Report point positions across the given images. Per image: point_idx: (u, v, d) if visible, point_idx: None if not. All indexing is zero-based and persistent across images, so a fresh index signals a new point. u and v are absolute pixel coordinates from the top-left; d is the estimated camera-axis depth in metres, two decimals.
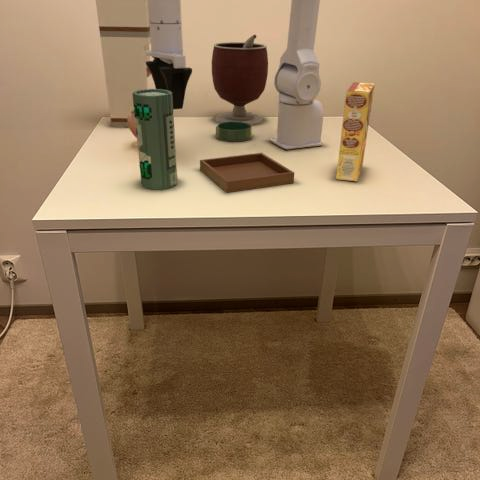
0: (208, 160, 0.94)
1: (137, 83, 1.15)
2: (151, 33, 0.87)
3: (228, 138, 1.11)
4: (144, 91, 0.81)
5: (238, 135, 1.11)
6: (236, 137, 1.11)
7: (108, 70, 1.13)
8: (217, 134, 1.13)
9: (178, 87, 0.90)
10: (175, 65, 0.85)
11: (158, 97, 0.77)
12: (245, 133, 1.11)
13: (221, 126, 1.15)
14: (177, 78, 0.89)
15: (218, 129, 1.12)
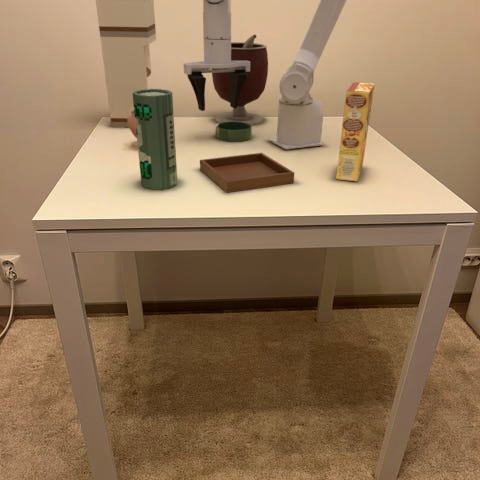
0: (208, 160, 0.94)
1: (137, 83, 1.15)
2: None
3: (228, 138, 1.11)
4: (144, 91, 0.81)
5: (238, 135, 1.11)
6: (236, 137, 1.11)
7: (108, 70, 1.13)
8: (217, 134, 1.13)
9: None
10: (184, 70, 1.03)
11: (158, 97, 0.77)
12: (245, 133, 1.11)
13: (221, 126, 1.15)
14: None
15: (218, 129, 1.12)
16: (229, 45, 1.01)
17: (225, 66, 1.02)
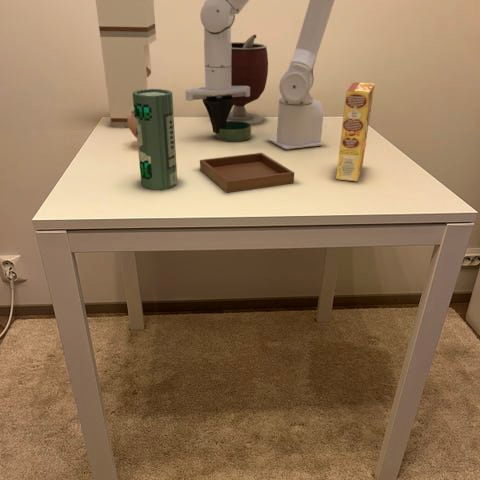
0: (208, 160, 0.94)
1: (137, 83, 1.15)
2: None
3: (228, 138, 1.11)
4: (144, 91, 0.81)
5: (238, 135, 1.10)
6: (236, 137, 1.11)
7: (108, 70, 1.13)
8: (217, 134, 1.13)
9: None
10: None
11: (158, 97, 0.77)
12: (244, 132, 1.11)
13: None
14: None
15: None
16: (229, 72, 1.04)
17: (225, 92, 1.05)
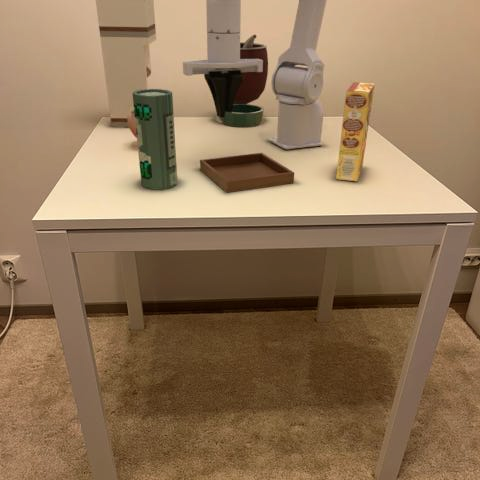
0: (208, 160, 0.94)
1: (137, 83, 1.15)
2: None
3: (235, 123, 0.90)
4: (144, 91, 0.81)
5: (247, 119, 0.90)
6: (245, 122, 0.90)
7: (108, 70, 1.13)
8: (221, 118, 0.92)
9: None
10: (183, 71, 0.86)
11: (158, 97, 0.77)
12: (255, 117, 0.90)
13: None
14: None
15: None
16: (238, 40, 0.84)
17: (233, 65, 0.85)
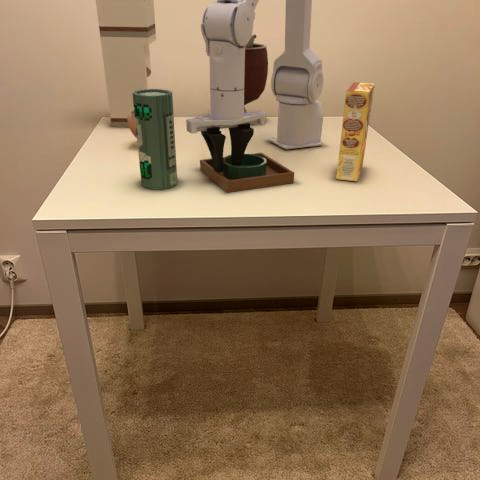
0: (208, 160, 0.94)
1: (137, 83, 1.15)
2: None
3: (239, 177, 0.88)
4: (144, 91, 0.81)
5: (252, 173, 0.88)
6: (250, 175, 0.88)
7: (108, 70, 1.13)
8: (224, 171, 0.90)
9: None
10: (187, 128, 0.83)
11: (158, 97, 0.77)
12: (260, 170, 0.89)
13: (228, 160, 0.92)
14: None
15: (226, 165, 0.89)
16: (242, 96, 0.82)
17: (238, 122, 0.83)
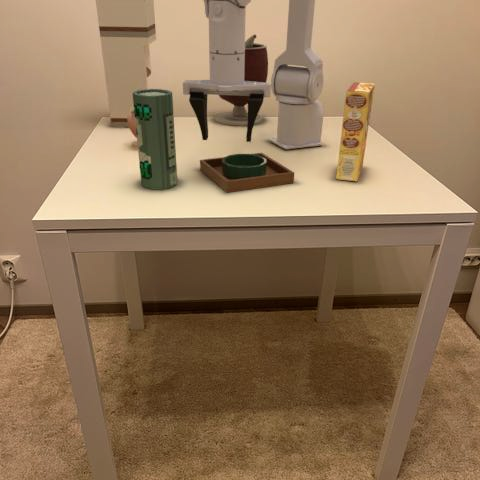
0: (208, 160, 0.94)
1: (137, 83, 1.15)
2: (227, 65, 0.78)
3: (239, 177, 0.88)
4: (144, 91, 0.81)
5: (252, 173, 0.88)
6: (250, 175, 0.88)
7: (108, 70, 1.13)
8: (224, 171, 0.90)
9: None
10: (269, 94, 0.81)
11: (158, 97, 0.77)
12: (260, 170, 0.89)
13: (227, 160, 0.92)
14: None
15: (226, 165, 0.89)
16: None
17: None
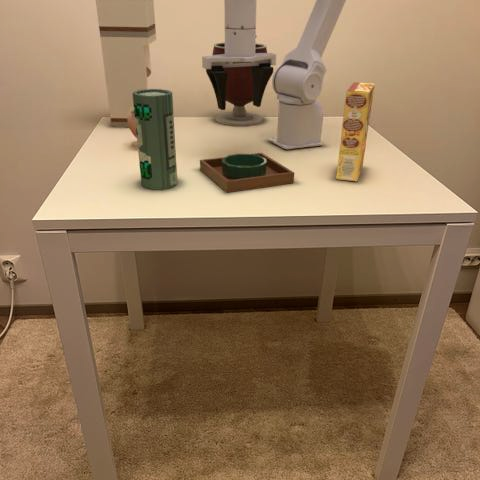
0: (208, 160, 0.94)
1: (137, 83, 1.15)
2: (248, 39, 0.89)
3: (239, 177, 0.88)
4: (144, 91, 0.81)
5: (252, 173, 0.88)
6: (250, 175, 0.88)
7: (108, 70, 1.13)
8: (224, 171, 0.90)
9: None
10: (275, 62, 0.95)
11: (158, 97, 0.77)
12: (260, 170, 0.89)
13: (227, 160, 0.92)
14: None
15: (226, 165, 0.89)
16: None
17: None
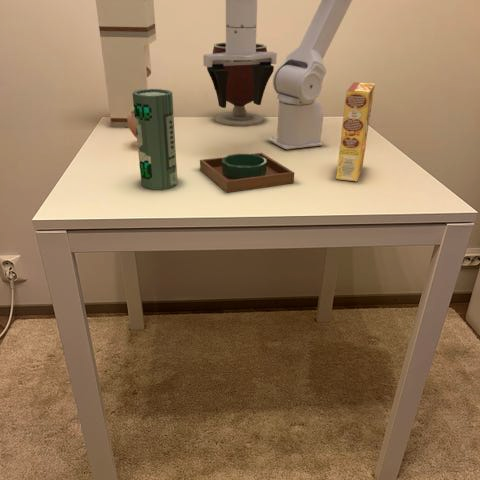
0: (208, 160, 0.94)
1: (137, 83, 1.15)
2: (248, 37, 0.90)
3: (239, 177, 0.88)
4: (144, 91, 0.81)
5: (252, 173, 0.88)
6: (250, 175, 0.88)
7: (108, 70, 1.13)
8: (224, 171, 0.90)
9: None
10: (275, 61, 0.96)
11: (158, 97, 0.77)
12: (260, 170, 0.89)
13: (227, 160, 0.92)
14: None
15: (226, 165, 0.89)
16: None
17: None
